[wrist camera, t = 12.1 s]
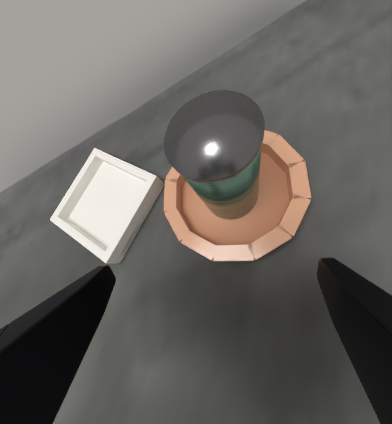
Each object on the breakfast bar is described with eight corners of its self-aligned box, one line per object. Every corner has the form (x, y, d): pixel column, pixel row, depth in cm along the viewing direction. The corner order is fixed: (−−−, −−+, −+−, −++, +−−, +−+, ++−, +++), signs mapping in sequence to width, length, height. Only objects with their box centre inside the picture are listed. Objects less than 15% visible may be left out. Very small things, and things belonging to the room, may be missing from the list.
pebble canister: (268, 180, 21) (283, 101, 11) (243, 230, 20) (233, 196, 10) (219, 162, 23) (192, 82, 13) (195, 206, 23) (147, 159, 12)
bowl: (324, 163, 21) (335, 148, 18) (264, 288, 19) (266, 292, 17) (207, 128, 26) (202, 113, 23) (153, 224, 25) (141, 219, 22)
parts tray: (165, 183, 26) (156, 176, 23) (119, 263, 25) (106, 263, 22) (106, 156, 30) (94, 148, 28) (65, 223, 29) (49, 219, 27)
